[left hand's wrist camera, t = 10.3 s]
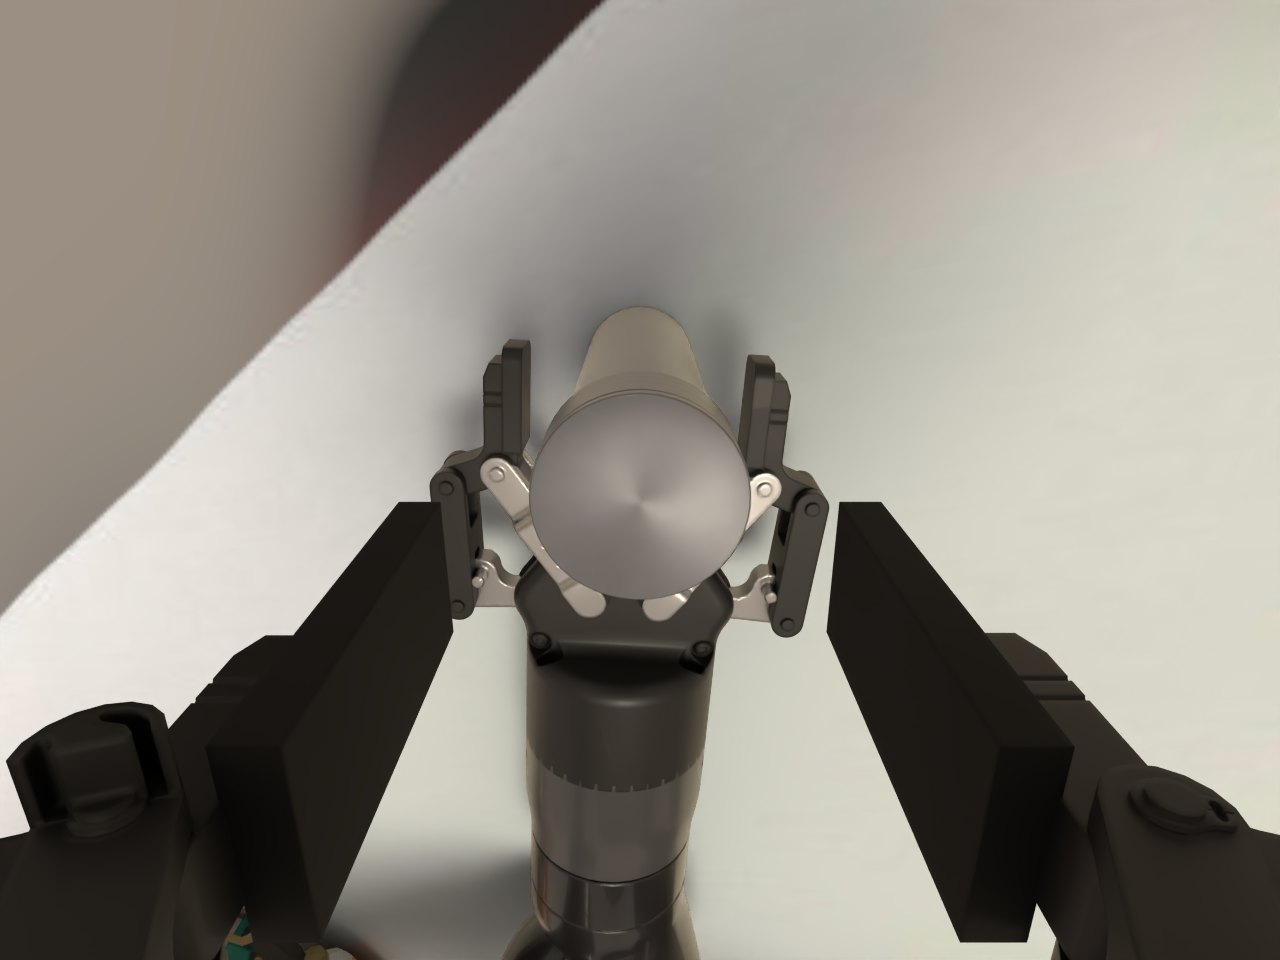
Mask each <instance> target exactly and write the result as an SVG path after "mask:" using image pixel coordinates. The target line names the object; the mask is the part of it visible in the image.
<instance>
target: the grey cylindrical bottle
mask: <svg viewBox="0 0 1280 960" xmlns="http://www.w3.org/2000/svg"><path fill="white" fill-rule="evenodd" d="M627 371H652V372H660V373H664V374H668V375H672V376H674V377H677V378H679V379H682V380H684V381H686V382H688V383H690V384H692V385H693V386H695V387H697V388H698V389H699V390H701V391H702V392H704V393H705V394H706V391H705V388H704V385H703V382H702V379H701V376H700V373H699V370H698V367H697V364H696V361H695V358H694V355H693V352H692V349H691V347H690V344H689V341H688V338H687V336H686V334H685V332H684V331H683V329H682V328H681V327H680V325H679V324H678V323H677V322H676V321H675V320H674V319H673V318H671V317H670V316H669V315H667V314H665V313H663V312H661V311H659V310H656V309H653V308H648V307H632V308H627V309H624V310H621V311H619V312H616V313H615V314H613V315H611V316H610V317H609V318H607V319H606V320H605V321H604V322H603V323H602V324H601V325H600V326H599V328H598V329H597V331H596V332H595V334H594V336H593V338H592V341H591V344H590V347H589V350H588V353H587V355H586V358H585V361H584V364H583V367H582V370H581V373H580V376H579V379H578V382H577V385H576V388H575V391H574V394H575V393H577V392H578V391H579V390H580V389H582V388H583V387H585V386H587V385H588V384H590V383H592V382H594V381H596V380H598V379H601V378H603V377H605V376H609V375H612V374H616V373H621V372H627ZM574 394H573V395H574ZM706 395H707V394H706Z"/></svg>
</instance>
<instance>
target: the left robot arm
mask: <svg viewBox="0 0 1280 960" xmlns="http://www.w3.org/2000/svg"><path fill="white" fill-rule="evenodd" d="M452 634H453V623H452V613H451V603H450V592H449V582H448V572H447V562H446V552H445V542H444V532H443V522H442V512H441V502H398V504H397V505H396V506H395V508H394V509H393V510H392V511H391V513H390V514H389V515H388V516H387V518H386V519H385V520H384V521H383V523H382V524H381V525H380V526H379V528H378V529H377V530H376V532H375V533H374V534H373V535H372V537H371V538H370V539H369V540H368V542H367V543H366V544H365V545H364V547H363V548H362V549H361V550H360V552H359V553H358V554H357V555H356V557H355V558H354V559H353V561H352V562H351V563H350V564H349V566H348V567H347V568H346V569H345V571H344V572H343V573H342V574H341V576H340V577H339V578H338V579H337V581H336V582H335V583H334V585H333V586H332V587H331V588H330V590H329V591H328V592H327V593H326V595H325V596H324V597H323V598H322V600H321V601H320V602H319V603H318V605H317V606H316V607H315V609H314V610H313V611H312V612H311V614H310V615H309V616H308V617H307V619H306V620H305V621H304V622H303V624H302V625H301V626H300V627H299V629H298V630H297V631H296V632H295V634H294V635H265V636H264V637H262V638H261V639H259V640H258V641H256V642H254V643H253V644H251V645H250V646H248V647H246V648H245V649H243V650H242V651H240V652H238V653H237V654H235V655H234V656H233V657H232V658H231V659H230V660H229V661H228V662H227V664H226V665H225V666H224V667H223V668H222V669H221V670H220V671H219V673H218V674H217V675H216V676H215V677H214V678H213V683H209V684H208V685H207V686H206V687H205V688H204V689H203V691H202V692H201V693H200V694H199V695H198V696H197V697H196V702H195V703H191V704H190V705H189V706H188V708H187V709H186V710H185V711H184V712H183V713H182V714H181V715H180V717H179V718H178V719H177V720H176V721H175V722H174V723H173V724H172V726H171V727H170V728H169V729H168V726H167V723H166V719H165V715H164V713H162V712H161V711H160V710H158V709H157V708H156V707H154V706H153V705H149V704H143V703H137V702H124V703H114V704H105V705H101V706H97V707H94V708H90V709H87V710H83V711H80V712H76V713H74V714H71V715H69V716H67V717H65V718H63V719H60V720H58V721H56V722H54V723H52V724H49V725H47V726H45V727H44V728H42V729H41V730H40V731H38V732H37V733H35V734H34V735H32V736H31V737H29V738H28V739H26V740H25V741H23V742H22V743H21V744H20V745H19V746H18V747H17V749H16V750H15V751H14V752H13V753H12V754H11V755H10V757H9V758H8V759H7V760H6V763H7V766H8V768H9V771H10V774H11V777H12V779H13V782H14V785H15V788H16V791H17V793H18V796H19V799H20V802H21V804H22V807H23V810H24V813H25V815H26V818H27V821H28V824H29V826H30V830H29V832H26V833H22V834H18V835H14V836H9V837H5V838H0V960H229V959H228V953H227V949H226V946H225V942H224V941H225V939H226V937H227V935H228V933H229V932H230V930H231V928H232V926H233V925H234V923H235V921H236V919H237V917H238V916H239V914H240V912H241V910H242V908H243V907H244V908H245V912H246V916H247V920H248V924H249V928H250V932H251V936H252V940H253V942H320V941H321V939H322V936H323V934H324V932H325V929H326V927H327V925H328V922H329V920H330V918H331V915H332V913H333V911H334V908H335V906H336V904H337V901H338V899H339V897H340V894H341V892H342V890H343V888H344V885H345V883H346V881H347V878H348V876H349V874H350V871H351V869H352V867H353V864H354V862H355V860H356V857H357V855H358V853H359V850H360V848H361V846H362V843H363V841H364V839H365V836H366V834H367V832H368V829H369V827H370V825H371V822H372V820H373V818H374V815H375V813H376V811H377V808H378V806H379V804H380V801H381V799H382V797H383V794H384V792H385V790H386V787H387V785H388V783H389V780H390V778H391V776H392V774H393V771H394V769H395V767H396V764H397V762H398V760H399V757H400V755H401V753H402V750H403V748H404V746H405V743H406V741H407V739H408V736H409V734H410V732H411V729H412V727H413V725H414V722H415V720H416V718H417V715H418V713H419V711H420V708H421V706H422V704H423V701H424V699H425V697H426V694H427V692H428V690H429V687H430V685H431V683H432V680H433V678H434V676H435V673H436V671H437V669H438V666H439V664H440V662H441V660H442V657H443V655H444V653H445V650H446V648H447V646H448V643H449V641H450V639H451V636H452ZM827 634H828V636H829V639H830V641H831V643H832V646H833V648H834V650H835V653H836V655H837V657H838V660H839V662H840V664H841V666H842V669H843V671H844V673H845V676H846V678H847V680H848V683H849V685H850V687H851V690H852V692H853V694H854V697H855V699H856V701H857V704H858V706H859V708H860V711H861V713H862V715H863V718H864V720H865V722H866V725H867V727H868V729H869V732H870V734H871V736H872V739H873V741H874V743H875V746H876V748H877V750H878V753H879V755H880V757H881V760H882V762H883V764H884V767H885V769H886V771H887V774H888V776H889V778H890V780H891V783H892V785H893V787H894V790H895V792H896V794H897V797H898V799H899V801H900V804H901V806H902V808H903V811H904V813H905V815H906V818H907V820H908V822H909V825H910V827H911V829H912V832H913V834H914V836H915V839H916V841H917V843H918V846H919V848H920V850H921V853H922V855H923V857H924V860H925V862H926V864H927V867H928V869H929V871H930V874H931V876H932V878H933V881H934V883H935V885H936V888H937V890H938V892H939V894H940V897H941V899H942V901H943V904H944V906H945V908H946V911H947V913H948V915H949V918H950V920H951V922H952V925H953V927H954V929H955V932H956V934H957V936H958V939H959V941H960V942H1027V940H1028V936H1029V932H1030V928H1031V924H1032V920H1033V916H1034V912H1035V907H1036V903H1037V905H1038V906H1039V908H1040V910H1041V912H1042V913H1043V915H1044V917H1045V919H1046V921H1047V922H1048V924H1049V926H1050V928H1051V929H1052V931H1053V933H1054V935H1055V937H1056V942H1055V946H1054V949H1053V953H1052V957H1051V960H1280V835H1277V834H1273V833H1268V832H1264V831H1259V830H1256V829H1252V828H1250V827H1249V826H1248V824H1247V823H1246V821H1245V820H1244V819H1243V817H1242V816H1241V815H1240V813H1239V812H1238V811H1237V809H1236V808H1235V807H1234V806H1232V805H1231V804H1230V803H1228V802H1227V801H1226V800H1225V799H1223V798H1222V797H1221V796H1220V795H1218V794H1217V793H1216V792H1215V791H1213V790H1212V789H1210V788H1208V787H1206V786H1204V785H1202V784H1200V783H1198V782H1196V781H1194V780H1192V779H1190V778H1189V777H1187V776H1185V775H1181V774H1178V773H1175V772H1172V771H1169V770H1166V769H1163V768H1159V767H1156V766H1147V764H1146V763H1145V762H1144V761H1143V760H1142V759H1141V758H1140V757H1139V755H1138V754H1137V753H1136V752H1135V751H1134V750H1133V749H1132V748H1131V747H1130V745H1129V744H1128V743H1127V742H1126V741H1125V740H1124V739H1123V738H1122V736H1121V735H1120V734H1119V733H1118V732H1117V731H1116V730H1115V729H1114V728H1113V726H1112V725H1111V724H1110V723H1109V722H1108V721H1107V720H1106V719H1105V717H1104V716H1103V715H1102V714H1101V713H1100V712H1099V711H1098V710H1097V708H1096V707H1095V706H1094V705H1093V704H1092V703H1091V702H1090V701H1086V700H1085V695H1084V694H1083V693H1082V692H1081V691H1080V689H1079V688H1078V687H1077V686H1076V685H1075V684H1074V683H1073V682H1072V681H1068V676H1067V675H1066V674H1065V673H1064V672H1063V670H1062V669H1061V668H1060V667H1059V666H1058V665H1057V664H1056V663H1055V661H1054V660H1053V659H1052V658H1051V657H1050V656H1049V655H1048V654H1047V653H1046V652H1045V651H1043V650H1041V649H1040V648H1038V647H1037V646H1035V645H1033V644H1032V643H1030V642H1029V641H1027V640H1025V639H1024V638H1022V637H1021V636H1019V635H1017V634H1016V633H985V632H984V631H983V630H982V629H981V627H980V626H979V625H978V624H977V622H976V621H975V620H974V619H973V617H972V616H971V615H970V614H969V612H968V611H967V610H966V609H965V607H964V606H963V605H962V603H961V602H960V601H959V600H958V598H957V597H956V596H955V595H954V593H953V592H952V591H951V590H950V588H949V587H948V586H947V585H946V583H945V582H944V581H943V579H942V578H941V577H940V576H939V574H938V573H937V572H936V571H935V569H934V568H933V567H932V566H931V564H930V563H929V562H928V561H927V559H926V558H925V557H924V555H923V554H922V553H921V552H920V550H919V549H918V548H917V547H916V545H915V544H914V543H913V542H912V540H911V539H910V538H909V537H908V535H907V534H906V533H905V532H904V530H903V529H902V528H901V526H900V525H899V524H898V523H897V521H896V520H895V519H894V518H893V516H892V515H891V514H890V513H889V511H888V510H887V509H886V508H885V506H884V505H883V504H882V502H839V512H838V522H837V532H836V542H835V552H834V562H833V572H832V582H831V592H830V603H829V613H828V623H827Z"/></svg>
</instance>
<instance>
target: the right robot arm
mask: <svg viewBox="0 0 1280 960" xmlns="http://www.w3.org/2000/svg"><path fill="white" fill-rule="evenodd" d="M530 373H531V345H530V341H529V340H514V339H510V340H509V341H508V342H507V343H506V344H505V345H504V346H503V350H502V355H496V356H495V357H494V358H493V359H492V360H491V361H490V362H489V364H488V366H487V368H486V371H485V373H484V376H483V393H484V394H483V404H484V406H483V412H484V445H483V446H482V447H480V448H478V449H474V450H471V451H467V452H466V451H455V452H453V453H451V454H450V455H449V456H448V458H447V459H446V460H445V462H444V465H443V466H442V468H441V469H440V470H439V471H437V473H436V474H435V475H434V476H433V478H432V479H431V481H430V496H431V502H441V512H442V522H443V532H444V542H445V552H446V562H447V572H448V582H449V592H450V603H451V613H452V618H453V619H457V620H461V619H466V618H468V617H469V616H470V615H471V614H472V613H473V610H474V608H475V607H516V608H517V610H518V611H519V613H520V615H521V616H522V618H523V620H524V622H525V625H526V628H527V722H526V781H527V792H528V799H529V804H530V810H531V821H532V828H531V893H532V900H533V905H534V910H535V912H534V913H533V914H531V915H530V916H529V917H528V918H527V919H526V920H525V922H524V923H523V924H522V925H521V926H520V928H519V929H518V931H517V932H516V934H515V935H514V937H513V939H512V940H511V942H510V943H509V945H508V947H507V949H506V951H505V953H504V955H503V956H502V958H501V960H701V959H700V955H699V951H698V946H697V942H696V938H695V934H694V930H693V925H692V920H691V915H690V911H689V907H688V903H687V900H686V896H685V893H684V889H683V886H684V878H685V870H686V860H687V851H688V841H689V831H690V825H691V821H692V817H693V814H694V810H695V807H696V803H697V800H698V796H699V790H700V783H701V774H702V766H703V757H704V748H705V739H706V729H707V720H708V712H709V703H710V693H711V684H712V675H713V666H714V657H715V648H716V642H717V638H718V636H719V634H720V632H721V630H722V629H723V627H724V626H725V625H726V624H727V622H728V621H729V620H730V618H733V619H742V620H752V621H761V622H770V623H771V626H772V629H773V631H774V633H776V634H777V635H778V636H780V637H792V636H795V635H796V634H798V633H799V632H800V631H801V629H802V627H803V623H804V618H805V614H806V610H807V605H808V601H809V596H810V592H811V587H812V583H813V579H814V574H815V570H816V565H817V561H818V556H819V552H820V547H821V543H822V539H823V534H824V530H825V525H826V521H827V516H828V512H829V504H828V501H827V500H826V498H825V496H824V495H823V493H822V491H821V490H820V488H819V487H818V485H817V483H816V482H815V480H814V478H813V477H812V476H811V475H810V474H809V473H808V472H805V471H795V470H793V469H791V468H788V467H786V466H784V465H783V464H782V459H783V452H784V444H785V437H786V429H787V421H788V412H789V406H790V399H791V395H790V391H789V387H788V384H787V381H786V380H785V379H784V377H783V376H782V375H781V373H776V372H775V364H774V362H773V361H772V360H771V358H770V357H769V356H765V355H748V358H747V363H746V372H745V381H744V390H743V399H742V408H741V418H740V427H739V436H738V446H739V448H740V451H741V453H742V456H743V458H744V461H745V463H746V466H747V470H748V474H749V478H750V485H751V508H750V514H749V520H748V523H747V526H746V529H745V532H746V530H747V529H748V528H749V527H750V526H751V525H752V524H753V523H754V522H755V521H756V520H757V519H758V518H759V517H760V516H761V515H762V514H763V513H764V512H765V511H766V510H767V509H768V508H769V507H770V506H771V505H772V506H775V507H777V508H779V510H778V515H777V520H776V525H775V530H774V535H773V540H772V545H771V550H770V555H769V560H768V564H760V565H758V566H757V567H755V568H754V569H753V570H752V572H751V573H750V576H749V578H748V580H747V581H746V582H745V583H744V584H742V585H740V586H737V587H730V583H729V581H728V579H727V577H726V576H725V574H724V573H723V571H722V570H721V568H720V569H718V570H717V571H716V572H715V573H714V574H713V575H712V576H710V577H709V578H707V579H706V580H704V581H703V582H702V583H700V584H698V585H696V586H694V587H692V588H690V589H688V590H686V591H683V592H681V593H678V594H675V595H671V596H667V597H663V598H657V599H649V600H632V599H622V598H617V597H613V596H608V595H605V594H602V593H599V592H596V591H594V590H592V589H590V588H588V587H586V586H584V585H582V584H580V583H579V582H577V581H576V580H574V579H572V578H571V577H570V576H569V575H567V574H566V573H565V572H564V571H563V570H561V569H560V568H559V567H558V566H557V564H556V563H555V562H554V561H553V560H552V559H551V558H550V556H549V555H548V554H547V552H546V551H545V549H544V548H543V546H542V544H541V542H540V540H539V539H538V537H537V534H536V532H535V529H534V526H533V524H532V519H531V514H530V509H529V483H530V478H531V473H532V469H533V466H534V464H535V462H534V461H533V460H532V458H531V457H530V456H529V454H528V453H527V452H526V450H525V449H524V448H525V446H526V444H527V442H528V439H529V437H530ZM486 489H489V490H490V492H491V493H492V494H493V495H494V497H495V498H496V499H497V501H498V502H499V503H500V504H501V506H502V507H503V508H504V509H505V511H506V512H507V513H508V514H509V516H510V517H511V519H512V521H513V525H514V528H515V530H516V532H517V534H518V535H519V537H520V538H521V539H522V540H523V542H524V543H525V544H526V545H527V547H528V548H529V549H530V551H531V552H532V553H533V554H534V556H533V557H532V558H531V559H530V560H529V561H528V563H527V564H526V565H525V566H524V567H523V569H522V570H521V572H520V574H519V575H513V574H510V573H508V572H507V571H506V570H505V569H504V568H503V566H502V564H501V560H500V557H499V556H498V555H497V554H496V553H495V552H494V551H493V550H491V549H484V543H483V530H482V518H481V506H480V493H479V491H483V490H486ZM745 532H744V533H745ZM743 535H744V534H743ZM742 538H743V536H742ZM742 538H741V540H740V542H741V541H742ZM739 544H740V543H739Z"/></svg>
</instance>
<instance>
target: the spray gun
mask: <svg viewBox="0 0 1280 960" xmlns="http://www.w3.org/2000/svg"><path fill="white" fill-rule="evenodd" d="M242 913H245V914H246V912H245V908H244V907H243V908H242V910H241V912H240V914H239V916H238V917H237V919H236V921H235V923H234V925H233V926H232V928H231V930H230V932H229V933H228V935H227V937H226V939H225V941H224V942H225V946H226V949H227V953H228V959H229V960H357V959H355V958H354V957H353V956H352V955H351V954H349V953H348V952H347V951H344V950H342V949H340V948H331V949H327V950H326V949H324V948H323V947H322V946H321V945H315V946H311V947H310V948H308V949H306V950H305V951H304V950H303V949H302V947H301V946H300V945H299V944H298V943H297V942H253V940H252V936H251V932H250V928H249V924H248V920H247V916H246V915H245V916H244V917H243V918H241V914H242Z"/></svg>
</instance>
